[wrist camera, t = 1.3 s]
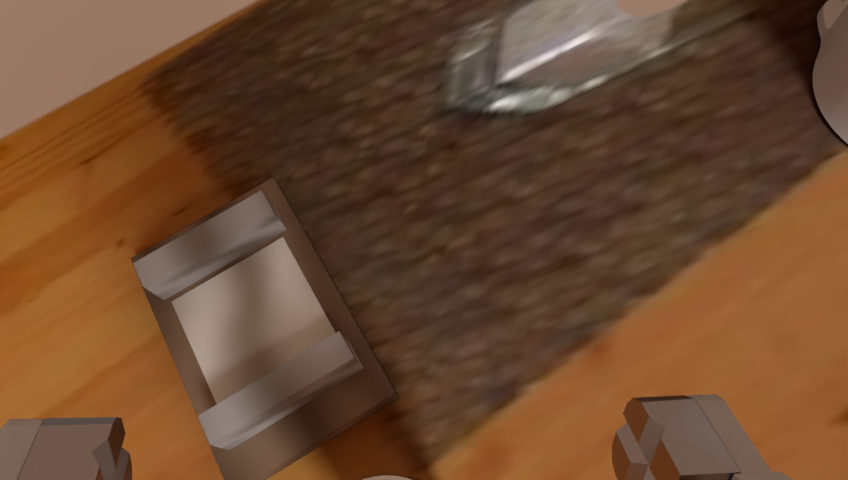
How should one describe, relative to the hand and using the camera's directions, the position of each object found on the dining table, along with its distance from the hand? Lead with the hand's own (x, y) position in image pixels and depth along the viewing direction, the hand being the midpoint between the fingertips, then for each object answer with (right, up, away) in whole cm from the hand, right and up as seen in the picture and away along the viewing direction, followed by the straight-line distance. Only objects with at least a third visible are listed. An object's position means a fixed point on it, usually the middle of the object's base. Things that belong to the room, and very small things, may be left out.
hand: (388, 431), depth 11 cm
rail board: (-11, -3, +37) cm, 39 cm away
